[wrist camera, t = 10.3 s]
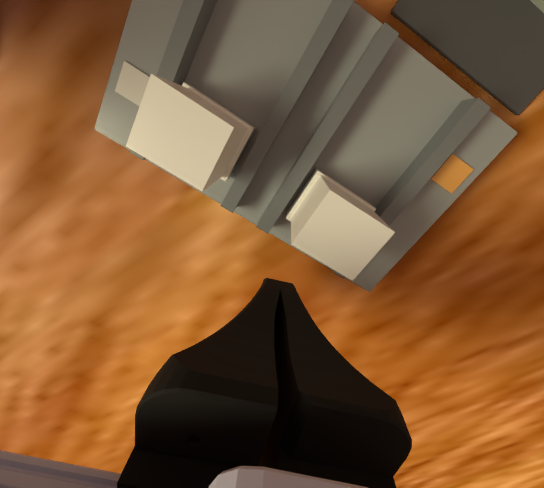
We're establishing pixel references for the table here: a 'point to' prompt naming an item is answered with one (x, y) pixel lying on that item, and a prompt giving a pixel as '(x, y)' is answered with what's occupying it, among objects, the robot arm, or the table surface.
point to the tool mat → (485, 42)
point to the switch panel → (312, 109)
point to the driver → (539, 4)
